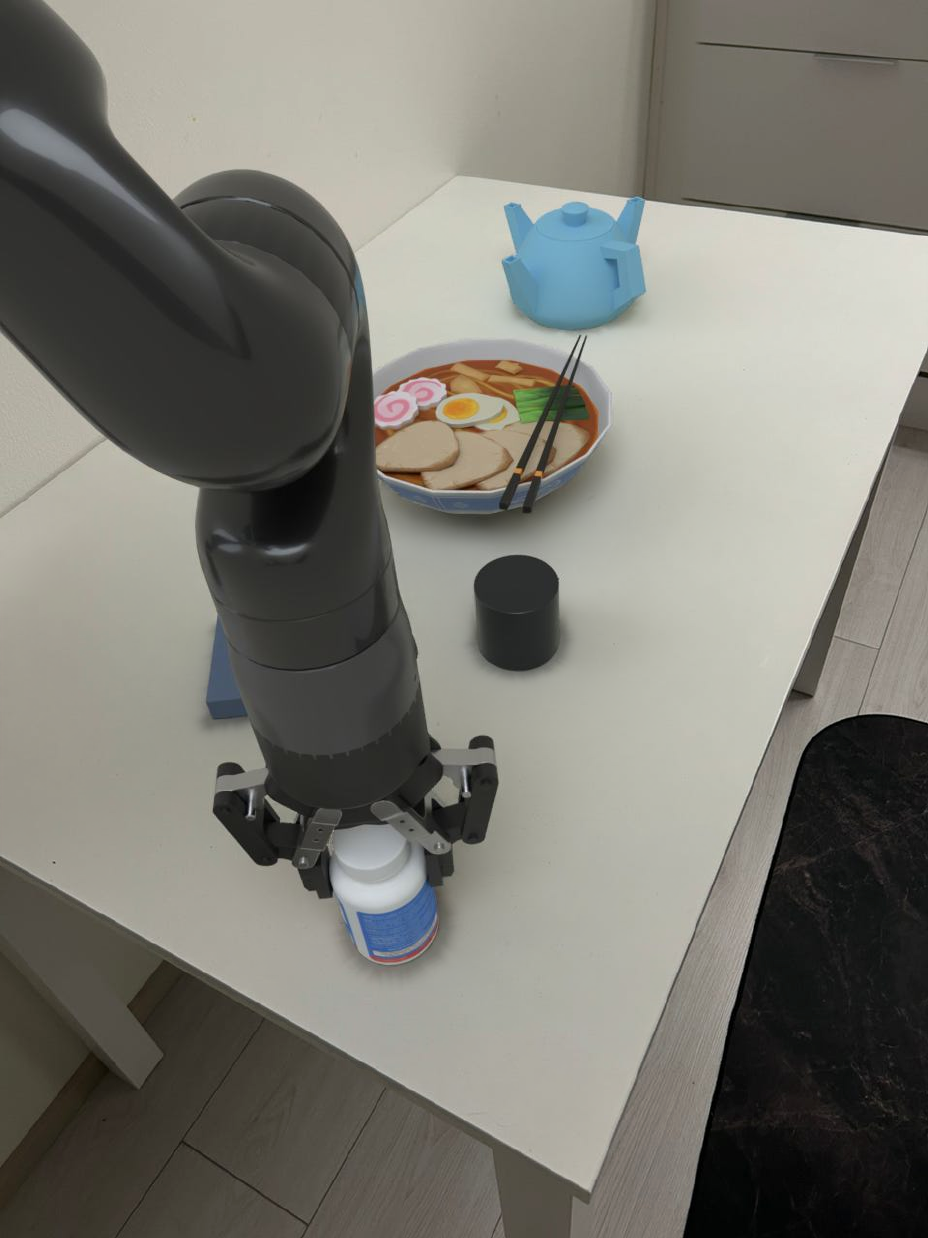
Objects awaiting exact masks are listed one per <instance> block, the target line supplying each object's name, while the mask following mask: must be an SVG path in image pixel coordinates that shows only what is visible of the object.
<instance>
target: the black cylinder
mask: <svg viewBox="0 0 928 1238" xmlns="http://www.w3.org/2000/svg"><path fill="white" fill-rule="evenodd" d="M474 577H475V578H474V580H473V595H474V606H475V616H476V617H475V618H476V619H475V620H476V631H477V642H478V647H479V651H480V653H481V654H482V656H483V657H484V658H485V659H486V661H488V662H489V663H490V664H492V665H494V666H496V667H497V668H500V669H503V670H507V671H515V672H516V671H517V672H520V671H521V672H523V671H528V670H533V669H537V668H538V667H541V666H543V665H544V664H546V663H548V661H550V659H552V658H553V656H555V654H556V653H557V650H558V647H559V645H560V580H559V577H558V574H557V572H556V571H555V569H554V568H553V567H552V566H551V565H550V564H549V563H547V562H546V561H545V560H542V559H540V558H538V557H535V556H531V555H526V554H508V555H504V556H500V557H497V558H494V559H493V560H490V561H489V562H487V563H486V564H485V565H483V566H482V567H481V568H480V569H479V570H478V572H477V573H476V576H474Z"/></svg>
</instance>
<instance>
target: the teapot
mask: <svg viewBox="0 0 928 1238" xmlns="http://www.w3.org/2000/svg"><path fill="white" fill-rule="evenodd" d="M645 204H646V199H645V198H642V197H640V196H634V197H632V198H629V199H626V203H625V205H624V207H623V209H622V210H621V212H620V214H619V216H618V218H617V220H615V218H614V217H613V216H612V215H610V213H608V212H606V211H604V210H602V209H599V208H596V207H590V206H589V204H587V203H585V202H583V201H582V202H581V201H570V202H567V203H564V204H563V205H562V206H561V208H556V209H553V210H551V211H550V210H549V211H548V212H546V213H544V214H542V215H541V216H540V217H538V218H537V219H536V221H535V222H533V221H532V220H531V218H530V217H529V215H528V213H526V211H525V210H524V208H523V207H522V204H520V203H516V202H513V201H512V202H509V203H507V204H505V205H503V210H504V214H505V217H506V218H505V219H506V221H507V225H508V229H509V233H510V235H511V240H512V244H513V246H514V250H515V254H516V255H515V254H513V253H511V254H510V255H509V256H506V257H504V258H503V259H501V265H502V268H503V272H504V275H505V279H506V282H507V285H508V289H509V294H510V297H511V300H512V303H513V304H514V305H515V306H516V307H517V308H518V309H519V310H520V311H521V313H523V314H524V315H525V316H526V317H527V318H529V320H531V321H532V322H534V323H536V324H538V325H540V326H543V327H546V328H549V329H554V330H555V329H556V330H563V331H579V330H580V331H581V330H589V329H594V328H598V327H601V326H604V325H607V324H608V323H610V322H613V321H615V320H616V319H617V318H619V317H620V316H621V315H622V314H624V312H625V311H626V310H627V309H628V308H629V307H630V306H631V305H632V304H633V303H634V302H635V300H637V299H638V298H640V297H641V296H642V295H644V294H645V293H647V288H646V281H645V275H644V268H643V263H642V256H641V249H640V245H639V244H636V243H637V240H638V235H639V230H640V226H641V222H642V218H643V213H644V208H645Z"/></svg>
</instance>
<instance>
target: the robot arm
mask: <svg viewBox="0 0 928 1238" xmlns="http://www.w3.org/2000/svg"><path fill="white" fill-rule="evenodd" d="M108 97H109V96H108V86H107V79H106V76H105V73H104V70H103V68H102V66H101V64H100V62H99V61H98V59H97V57H96V55H95V54H94V53H93V51H92V50H91V48H90V47H89V46H88V45H87V44H86V42H85V41H84V40H83V39H82V38H81V37H80V36H79V34H78V33H77V32H76V31H75V30H74V29H73V28H72V27H71V26H70V25H69V24H68V23H67V22H66V21H65V20H64V19H63V17H61V16H60V15H59V13H57V11H55V10H54V8H52V7H51V6H50V5H49V4H48V3H47V2H46V1H45V0H0V334H1V335H2V336H3V337H4V338H5V339H6V340H7V341H8V342H9V343H10V344H11V345H12V346H13V348H15V349H16V350H17V351H18V352H19V354H21V355H22V357H24V358H25V360H26V361H28V362H29V364H30V365H31V366H32V367H33V368H34V369H35V370H36V371H37V372H38V373H39V374H40V376H42V377H43V378H44V379H45V380H46V381H47V382H48V384H49V385H50V386H51V387H52V388H53V389H54V390H55V391H56V392H57V393H58V394H59V395H60V396H61V397H62V398H63V399H64V400H65V401H66V402H67V403H68V404H69V405H70V406H71V407H72V408H73V409H74V410H75V411H76V412H77V413H78V414H79V415H80V416H81V417H82V418H84V420H85V421H86V422H88V424H90V425H91V426H92V427H93V428H94V429H95V430H96V431H97V432H99V433H100V434H101V435H102V436H104V437H105V439H107V440H108V441H110V442H111V443H112V444H114V445H115V446H116V447H118V449H120V450H121V451H122V452H124V453H126V454H128V455H129V456H130V457H131V458H134V459H135V460H137V461H139V462H140V463H141V464H143V465H145V466H146V467H148V468H150V469H152V470H154V471H156V472H158V473H160V474H162V475H164V476H165V477H169V478H170V479H173V480H176V481H178V482H181V483H182V484H183V483H184V484H187V485H190V486H194V487H198V496H197V502H196V509H195V516H194V517H195V518H194V531H195V544H196V550H197V556H198V560H199V563H200V567H201V571H202V574H203V576H204V579H205V583H206V585H207V588H208V591H209V593H210V596H211V599H212V602H213V605H214V608H215V611H216V613H217V616H219V619H220V621H221V624H222V627H223V630H224V633H225V635H226V639H227V644H228V651H229V658H230V664H231V668H232V672H233V675H234V678H235V682H236V685H237V687H238V690H239V693H240V695H241V698H242V701H243V703H244V706H245V709H246V712H247V714H248V716H247V717H248V720H249V722H250V725H251V728H252V730H253V734H254V736H255V738H256V741H257V744H258V747H259V749H260V752H261V755H262V758H263V761H264V763H265V766H264V767H263V768H262V767H261V768H257V769H254V770H249V771H245V769H244V768H243V767H242V765H240V764H239V763H237V762H234V761H233V762H232V761H226V762H222V763H220V764H219V765H218V766H217V769H216V777H215V786H214V792H213V793H214V794H213V803H212V814H213V815H214V816H215V817H216V818H217V820H218V821H219V822H220V824H221V825H222V826H223V827H224V828H225V829H226V831H227V832H228V833H229V834H230V835H231V836H232V838H233V839H234V840H235V841H236V842H237V844H239V846H240V847H241V848H242V849H243V850H244V852H245V853H246V854H247V855H248V857H249V858H250V859H251V860H252V861H253V863H254V864H255V865H257V866H260V867H271V866H274V865H276V864H277V863H278V862H279V860H280V859H281V860H288V861H290V862H291V866H293V868H295V869H297V873H298V874H299V878H300V880H301V882H302V886H303V888H304V889H306V890H307V891H308V892H316V894H317V897H318V899H319V900H324V899H325V900H326V899H332V898H334V891H333V887H332V884H331V881H330V876H329V862H330V858H331V853H330V850H329V848H328V847H329V846H328V844H329V841H330V839H331V836H333V832H334V830H340V829H349V828H353V827H357V826H360V825H386V824H390V825H391V826H392V827H394V828H395V829H396V830H397V831H398V832H399V833H400V834H401V835H402V836H403V837H405V838H406V839H407V840H408V841H409V842H412V841H415V840H417V841H418V842H419V843H420V844H421V845H422V846H423V847H424V855H425V861H426V866H427V871H428V876H429V882H430V887H434V888H437V887H439V888H440V887H444V878H449V877H452V876H453V875H454V873H455V863H454V851H453V844H455V843H456V842H458V841H462V842H463V843H464V844H466V845H477V844H480V843H482V842H484V841H485V839H486V837H487V832H488V828H489V823H490V820H491V815H492V812H493V807H494V804H495V800H496V795H497V791H498V788H499V783H500V782H499V774H498V765H497V757H496V750H495V741H494V739H493V738H492V737H491V736H489V735H481V734H480V735H476V736H474V737H472V738H471V739H470V740H469V742H468V747H467V748H442V747H441V745H440V742H438V740H437V739H436V738H434V737H433V736H432V735H431V734H430V733H429V729H428V723H427V718H426V717H427V716H426V712H425V711H426V710H425V704H424V698H423V692H422V691H423V690H422V684H421V678H420V673H419V666H418V665H419V664H418V656H419V651H418V645H417V641H416V639H415V636H414V634H413V629H412V625H411V621H410V618H409V615H408V612H407V609H406V607H405V604H404V602H403V599H402V595H401V592H400V588H399V580H398V574H397V568H396V562H395V556H394V555H395V554H394V550H393V545H392V538H391V534H390V528H389V523H388V519H387V516H386V512H385V509H384V504H383V500H382V495H381V490H380V481H379V478H378V473H377V465H376V440H375V412H374V392H373V360H372V359H373V358H372V347H371V346H372V345H371V332H370V325H369V324H370V323H369V314H368V306H367V299H366V293H365V287H364V282H363V278H362V275H361V269H360V267H359V266H360V265H359V264H358V261H357V258H356V255H355V253H354V250H353V247H352V246H351V243H350V241H349V240H348V238H347V236H346V234H345V232H344V230H343V229H342V228H341V226H340V224H339V223H338V222H337V220H336V219H335V218H334V217H333V215H332V213H330V212H329V211H328V209H327V208H326V207H325V206H324V205H323V204H322V203H321V202H320V201H318V199H317V198H315V196H313V195H311V194H310V193H309V192H308V191H306V190H305V189H304V188H303V187H301V186H299V185H297V184H296V183H294V182H292V181H290V180H288V179H286V178H284V177H282V176H279V175H275V174H274V173H270V172H265V171H262V170H257V169H251V168H250V169H249V168H235V169H234V168H233V169H228V170H227V169H226V170H222V171H218V172H214V173H211V174H208V175H206V176H203V177H201V178H199V179H197V180H195V181H193V182H191V184H189V185H188V186H187V187H185V188H183V190H181V191H180V192H178V194H176V196H174V197H173V198H171V197H170V195H168V194H167V192H166V191H165V190H164V189H163V188H162V187H161V186H160V185H159V184H158V183H157V182H156V181H155V179H153V177H152V176H151V175H150V174H149V173H148V172H147V170H145V168H143V166H142V165H140V163H139V162H138V161H137V160H136V159H135V158H134V157H133V155H131V154H130V152H129V151H128V150H127V149H126V148H125V147H124V146H123V144H122V143H120V141H119V140H118V139H117V137H116V136H115V133H114V131H113V129H112V128H111V126H110V122H109V110H108V108H109V101H108V100H109V99H108ZM443 777H448V778H450V779H451V780H452V785H453V787H455V788H456V789H459V792H458V797H457V802H456V803H453V804H450V805H448V804H447V803H446V802H444V800H442V798H440V796H439V795H438V794H437V793H436V792H435V791H434V789H433V788H435V787H436V786H437V785H438V784H439V782H440V781H441V780H442V778H443ZM267 796H268V797H269V798H270V799H271V800H272V801H274V802H276V803H278V804H280V805H281V806H283V807H286V808H287V809H289V810H291V811H293V812H295V813H296V814H295V816H294V819H293V822H283V821H281V817H280V815H278V813H277V812H276V811H275V809H274V807H273V806H272V805H271V804H270V802H269V801H268V799H267V798H266V797H267Z"/></svg>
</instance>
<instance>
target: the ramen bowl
mask: <svg viewBox="0 0 928 1238" xmlns="http://www.w3.org/2000/svg"><path fill="white" fill-rule="evenodd" d="M581 337H582V334H579V335H578V337H577V339H576V342H575V343H574V345H573V348H572V350H571V352H570V353H568V352H566V351H564V350H563V349H561V348H560V347H559V348H558V347H555V346H551V345H547V344H543V343H538V342H533V341H528V340H525V339H519V338H516V337H479V338H478V337H474V338H473V337H469V338H467V337H465V338H460V339H456V340H451V341H446V342H441V343H437V344H431V345H426V346H422V347H418V348H416V349H413V350H411V351H409V352H407V353H405V354H403V355H401V356H399V357H397V358H395V359H392V360H390V361H389V362H386V363H384V364H383V365H380V366H378V367H377V368H376V369H374V371H372V373H373V392H374V412H375V440H376V465H377V473H378V480H380V481H381V482H382V483H383V484H385V485H386V486H387V487H389V488H390V489H391V490H393V491H394V492H396V493H397V494H398V496H400V497H402V498H404V499H406V500H407V501H409V502H411V503H414V504H417V505H419V506H423V507H426V508H429V509H433V510H436V511H438V512H442V513H445V514H455V515H456V514H457V515H458V514H460V515H461V514H462V515H465V514H466V515H492V514H495V513H496V514H497V513H500V512H505V511H509V510H513V509H519V508H521V507H522V514H529V515H531V514H532V511H533V508H534V506H535V502H537V501H538V500H540V499H542V498H543V497H545V496H548V494H550V493H552V492H554V491H556V490H558V489H559V488H560V487H562V486H563V485H565V484H566V483H567V482H569V481H570V480H571V479H572V478H573V477H574V476H575V475H576V474H577V473H578V472H580V470H581V469H582V467H583V466H584V465H585V463H586V462H587V461H588V460H589V458H590V457H591V455H593V453H594V451H595V450H596V449H597V448H598V446H599V445H600V444H601V442H602V441H603V440H604V438H605V436H606V435H607V434H608V432H609V430H610V429H611V427H612V426H613V393H612V392H611V390H610V389H609V387H608V386H607V385H606V383H605V382H604V380H603V379H602V378H601V376H600V375H599V373H598V372H597V371H596V369H595V368H594V366H592V365H590V364H588V363H586V362H585V361H583V360H581V357H582V354H583V351H584V347H585V344H586V341H587V338H588V335H585V336H584V339H583V341H582V344H581V347H580V349H579V352H578V355H577V357H575V356H574V354H575V352H576V349H577V347H578V345H579V342H580V340H581Z"/></svg>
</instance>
